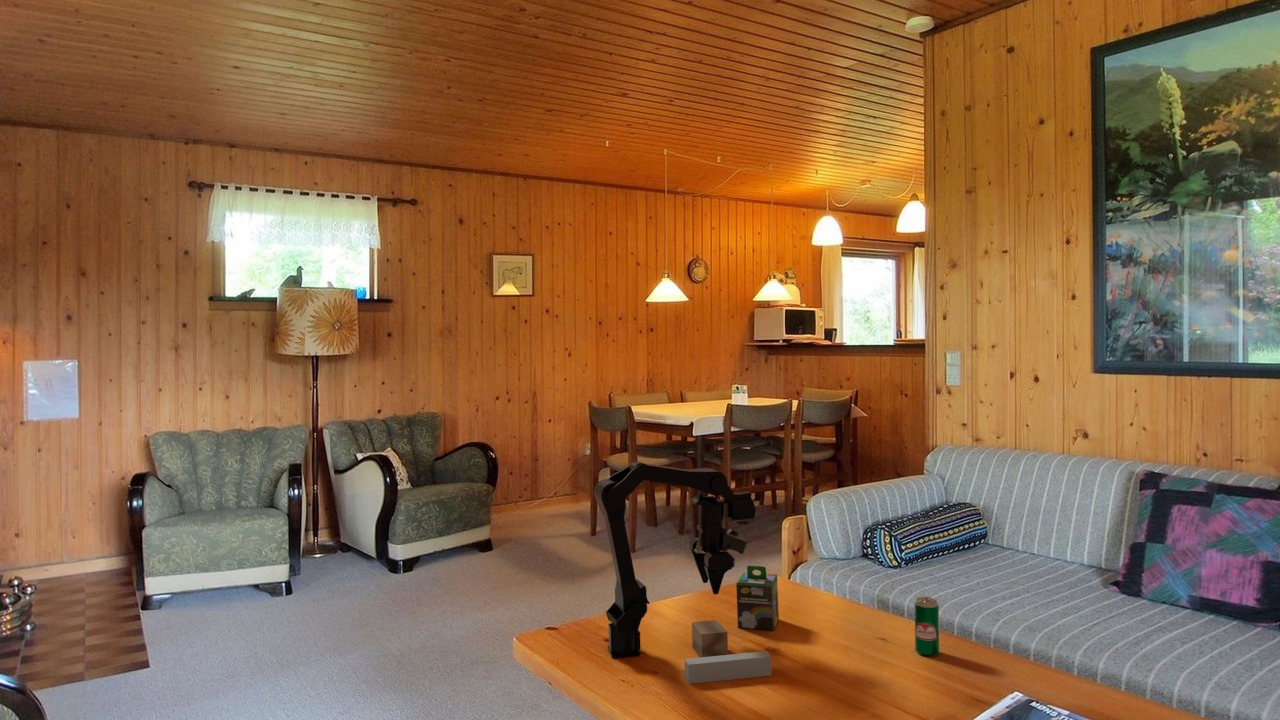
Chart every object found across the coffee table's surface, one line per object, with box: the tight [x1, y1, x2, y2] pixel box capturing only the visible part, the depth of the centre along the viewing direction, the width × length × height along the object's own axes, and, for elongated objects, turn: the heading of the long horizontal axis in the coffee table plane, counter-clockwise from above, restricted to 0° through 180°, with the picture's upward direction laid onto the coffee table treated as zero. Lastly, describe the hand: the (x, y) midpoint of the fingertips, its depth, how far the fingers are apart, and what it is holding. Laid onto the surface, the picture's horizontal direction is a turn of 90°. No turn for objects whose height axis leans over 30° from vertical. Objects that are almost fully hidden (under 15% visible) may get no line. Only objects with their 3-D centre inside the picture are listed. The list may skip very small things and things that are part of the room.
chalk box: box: [735, 565, 780, 632], centre depth 195 cm, size 9×9×15 cm
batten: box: [684, 650, 772, 685], centre depth 164 cm, size 18×3×4 cm, turn 101°
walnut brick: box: [691, 619, 729, 658], centre depth 177 cm, size 6×8×6 cm
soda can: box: [914, 596, 940, 657], centre depth 174 cm, size 5×5×12 cm
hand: (710, 588), depth 185 cm, fingers open, 9 cm apart
